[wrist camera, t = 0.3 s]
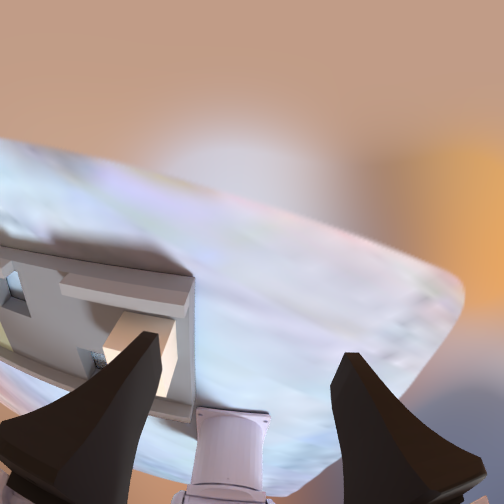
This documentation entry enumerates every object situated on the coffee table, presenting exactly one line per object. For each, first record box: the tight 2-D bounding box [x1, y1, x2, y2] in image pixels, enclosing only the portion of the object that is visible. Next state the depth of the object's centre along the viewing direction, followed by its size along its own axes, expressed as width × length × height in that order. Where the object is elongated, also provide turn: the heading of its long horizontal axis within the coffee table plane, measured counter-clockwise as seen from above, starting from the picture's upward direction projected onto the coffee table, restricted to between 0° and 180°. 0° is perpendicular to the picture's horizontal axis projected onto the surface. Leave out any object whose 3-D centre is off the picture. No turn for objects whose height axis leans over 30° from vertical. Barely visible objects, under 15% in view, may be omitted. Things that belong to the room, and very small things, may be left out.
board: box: [0, 246, 196, 423], centre depth 21 cm, size 14×28×4 cm, turn 83°
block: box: [103, 311, 178, 397], centre depth 19 cm, size 4×4×4 cm
